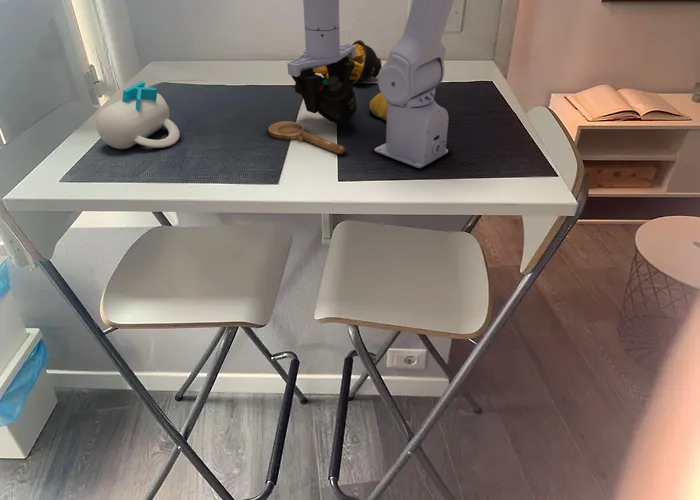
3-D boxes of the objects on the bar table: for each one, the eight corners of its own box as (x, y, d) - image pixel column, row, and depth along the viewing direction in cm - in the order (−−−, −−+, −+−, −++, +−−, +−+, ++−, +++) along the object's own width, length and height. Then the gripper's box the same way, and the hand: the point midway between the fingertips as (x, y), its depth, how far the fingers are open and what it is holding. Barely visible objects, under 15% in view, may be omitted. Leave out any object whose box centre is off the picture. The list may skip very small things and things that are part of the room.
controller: (355, 134, 100) (337, 92, 92) (305, 117, 107) (284, 76, 99) (369, 117, 101) (352, 74, 93) (318, 101, 108) (299, 59, 100)
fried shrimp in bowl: (393, 64, 116) (314, 45, 108) (369, 105, 124) (294, 90, 115) (381, 36, 121) (304, 16, 112) (358, 77, 129) (285, 61, 120)
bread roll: (395, 127, 102) (396, 105, 99) (362, 113, 107) (362, 92, 105) (427, 115, 106) (429, 94, 104) (394, 102, 112) (394, 82, 109)
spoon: (356, 149, 94) (356, 141, 94) (331, 161, 91) (331, 153, 90) (286, 122, 104) (286, 115, 103) (261, 132, 100) (260, 125, 100)
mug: (89, 94, 88) (138, 71, 97) (86, 141, 94) (132, 115, 103) (154, 132, 88) (197, 105, 97) (146, 176, 93) (187, 147, 103)
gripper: (335, 14, 100) (336, 90, 108) (272, 31, 91) (279, 112, 99) (365, 21, 96) (364, 99, 104) (302, 39, 87) (307, 122, 95)
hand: (324, 106), depth 101 cm, fingers closed on controller, 6 cm apart
